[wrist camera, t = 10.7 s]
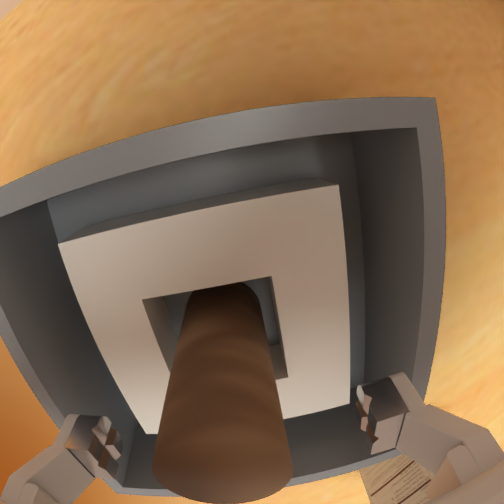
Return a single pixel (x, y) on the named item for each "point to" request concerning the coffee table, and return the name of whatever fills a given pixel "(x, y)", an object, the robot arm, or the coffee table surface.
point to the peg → (222, 404)
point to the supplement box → (396, 481)
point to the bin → (233, 267)
